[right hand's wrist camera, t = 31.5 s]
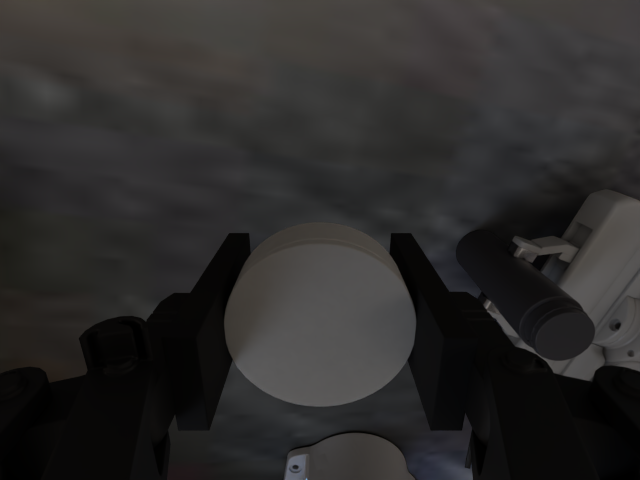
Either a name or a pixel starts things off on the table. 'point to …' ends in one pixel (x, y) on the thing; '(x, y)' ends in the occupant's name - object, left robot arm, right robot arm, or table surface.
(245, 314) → the lid
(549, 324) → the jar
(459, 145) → the table surface
